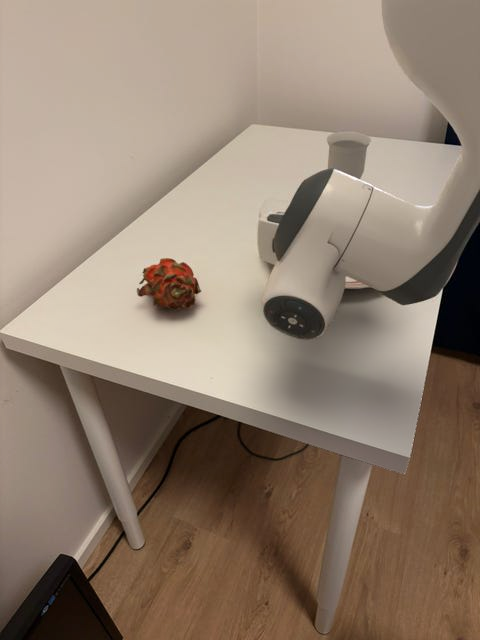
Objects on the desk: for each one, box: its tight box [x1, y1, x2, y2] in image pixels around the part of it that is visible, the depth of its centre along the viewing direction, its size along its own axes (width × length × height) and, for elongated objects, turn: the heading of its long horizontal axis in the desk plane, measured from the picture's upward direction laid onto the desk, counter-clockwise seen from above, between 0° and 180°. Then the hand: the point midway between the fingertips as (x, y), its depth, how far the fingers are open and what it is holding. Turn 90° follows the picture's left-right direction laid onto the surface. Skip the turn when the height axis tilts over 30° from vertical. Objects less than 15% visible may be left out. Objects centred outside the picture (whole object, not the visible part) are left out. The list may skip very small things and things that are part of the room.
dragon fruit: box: [136, 257, 202, 311], centre depth 78 cm, size 8×8×12 cm
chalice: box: [326, 131, 372, 180], centre depth 81 cm, size 7×7×18 cm
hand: (337, 201), depth 74 cm, fingers open, 8 cm apart
